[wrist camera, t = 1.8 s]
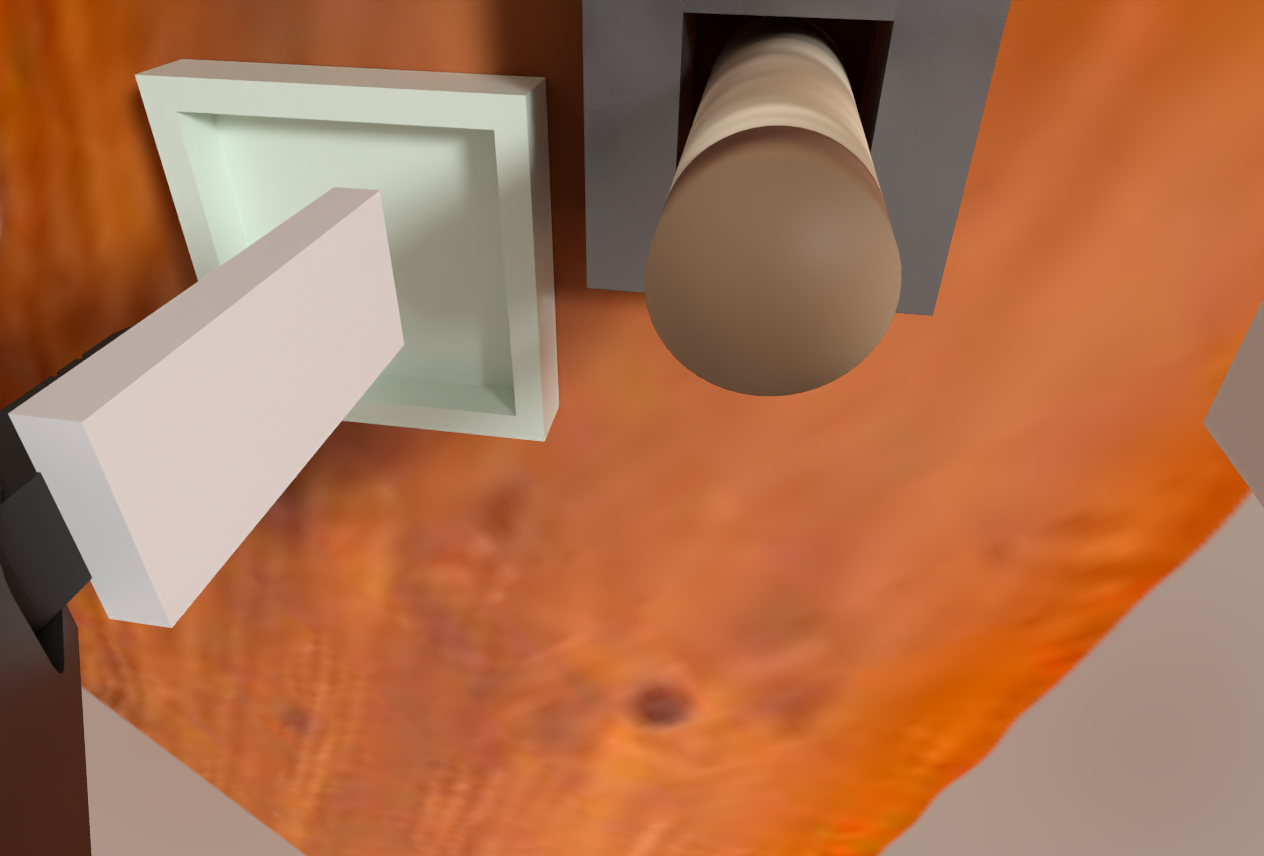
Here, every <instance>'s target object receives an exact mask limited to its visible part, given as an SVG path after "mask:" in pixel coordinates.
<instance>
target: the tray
mask: <svg viewBox="0 0 1264 856" xmlns="http://www.w3.org/2000/svg"><path fill="white" fill-rule="evenodd" d="M135 77H136V80H137V84H138V87H139V90H140V93H141V97H142V100H143V103H144V106H145V110H146V113H147V116H148V120H149V123H150V126H151V129H152V133H153V136H154V139H155V142H156V146H157V149H158V152H159V155H160V159H161V162H162V165H163V169H164V172H165V175H166V178H167V182H168V185H169V188H170V191H171V195H172V198H173V201H174V204H175V208H176V211H177V214H178V217H179V221H180V224H181V227H182V231H183V234H184V237H185V240H186V244H187V247H188V250H189V253H190V257H191V260H192V263H193V266H194V270H195V273H196V276H197V279H198V281H200V280H201V279H202V278H204V277H205V276H207V275H208V274H210V273H211V272H213V271H214V270H215V269H217V268H218V267H220V266H221V265H223V264H224V263H225V262H227V261H228V260H230V259H231V258H233V257H234V256H236V255H237V254H238V253H240V252H241V251H243V250H244V249H246V248H247V247H249V246H250V245H251V244H253V243H254V242H256V241H257V240H259V239H260V238H261V237H263V236H264V235H266V234H267V233H269V232H270V231H272V230H273V229H274V228H276V227H277V226H279V225H280V224H282V223H283V222H285V221H286V220H287V219H289V218H290V217H292V216H293V215H295V214H296V213H297V212H299V211H300V210H302V209H303V208H305V207H306V206H308V205H309V204H310V203H312V202H313V201H315V200H316V199H318V198H319V197H321V196H322V195H323V194H325V193H326V192H328V191H329V190H331V189H332V188H333V187H340V188H354V189H368V190H380V194H381V201H382V207H383V213H384V220H385V226H386V232H387V239H388V245H389V251H390V257H391V264H392V270H393V276H394V283H395V289H396V295H397V302H398V308H399V314H400V320H401V327H402V333H403V339H404V346H403V347H402V348H401V349H400V350H399V352H398V353H397V354H396V355H395V357H394V358H393V359H392V360H391V361H390V363H389V364H388V365H387V366H386V368H385V369H384V370H383V371H382V372H381V374H380V375H379V376H378V377H377V379H376V380H375V381H374V382H373V383H372V385H371V386H370V387H369V388H368V389H367V391H366V392H365V393H364V394H363V396H362V397H361V398H360V399H359V400H358V402H357V403H356V404H355V405H354V407H353V408H352V409H351V410H350V411H349V413H348V414H347V415H346V416H345V417H344V419H343V420H342V421H350V422H360V423H370V424H379V425H389V426H399V427H409V428H418V429H428V430H438V431H448V432H457V433H467V434H477V435H487V436H496V437H506V438H516V439H526V440H535V441H545V439H546V437H547V434H548V432H549V429H550V427H551V425H552V422H553V420H554V417H555V415H556V412H557V410H558V408H559V390H558V366H557V342H556V317H555V293H554V268H553V244H552V220H551V195H550V171H549V147H548V122H547V98H546V77H528V76H508V75H488V74H468V73H449V72H429V71H409V70H390V69H370V68H350V67H331V66H311V65H291V64H272V63H252V62H232V61H212V60H193V59H181V60H178V61H175V62H172V63H169V64H166V65H163V66H160V67H157V68H154V69H151V70H147V71H144V72H141V73H138V74H135Z"/></svg>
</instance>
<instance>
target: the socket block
mask: <svg viewBox="0 0 1264 856" xmlns="http://www.w3.org/2000/svg"><path fill="white" fill-rule="evenodd" d="M1010 1H1011V0H582V24H583V84H584V145H585V205H586V265H587V288H594V289H606V290H619V291H631V292H644V293H645V286H644V276H645V265H646V260H647V256H648V252H649V248H650V245H651V243H652V240H653V237H654V234H655V231H656V228H657V225H658V222H659V220H660V217H661V214H662V211H663V208H664V205H665V202H666V199H667V197H668V194H669V191H670V188H671V185H672V182H673V179H674V176H675V174H676V171H677V168H678V165H679V162H680V159H681V156H682V153H683V151H684V148H685V145H686V142H687V139H688V136H689V133H690V118H691V100H692V81H693V63H694V44H695V26H696V13H712V14H737V15H761V16H786V17H810V18H835V19H859V20H875V22H874V28H873V34H872V40H871V46H870V52H869V58H868V64H867V70H866V76H865V82H864V88H863V94H862V100H861V106H860V112H859V117H860V120H861V124H862V127H863V131H864V134H865V138H866V141H867V144H868V148H869V151H870V155H871V158H872V161H873V165H874V168H875V172H876V175H877V179H878V182H879V185H880V189H881V192H882V196H883V199H884V203H885V206H886V209H887V213H888V216H889V220H890V223H891V227H892V230H893V233H894V237H895V240H896V244H897V247H898V251H899V256H900V262H901V289H900V296H899V301H898V304H897V308H896V311H895V313H905V314H918V315H930V316H933V312H934V308H935V304H936V300H937V296H938V292H939V288H940V284H941V279H942V275H943V271H944V267H945V263H946V259H947V255H948V251H949V247H950V243H951V239H952V235H953V231H954V227H955V223H956V219H957V215H958V211H959V207H960V203H961V199H962V195H963V191H964V187H965V183H966V179H967V174H968V170H969V166H970V162H971V158H972V154H973V150H974V146H975V142H976V138H977V134H978V130H979V126H980V122H981V118H982V114H983V110H984V106H985V102H986V98H987V94H988V90H989V86H990V82H991V78H992V73H993V69H994V65H995V61H996V57H997V53H998V49H999V45H1000V41H1001V37H1002V33H1003V29H1004V25H1005V21H1006V17H1007V13H1008V9H1009V5H1010Z"/></svg>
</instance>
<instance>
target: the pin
mask: <svg viewBox="0 0 1264 856" xmlns="http://www.w3.org/2000/svg"><path fill="white" fill-rule="evenodd" d="M644 286H645V298H646V303H647V308H648V311H649V314H650V317H651V320H652V323H653V325H654V327H655V329H656V331H657V333H658V335H659V337H660V338H661V340H662V341H663V343H664V344H665V346H666V347H667V349H668V350H669V351H670V352H671V353H672V354H673V355H674V357H675V358H676V359H677V360H678V361H679V362H681V363H682V364H683V365H684V366H685V367H686V368H687V369H689V370H690V371H692V372H693V373H694V374H696V375H697V376H699V377H700V378H702V379H704V380H706V381H708V382H710V383H712V384H714V385H716V386H719V387H722V388H724V389H727V390H730V391H734V392H738V393H742V394H749V395H755V396H783V395H791V394H796V393H802V392H806V391H809V390H812V389H816V388H819V387H821V386H823V385H826V384H828V383H830V382H832V381H834V380H836V379H838V378H839V377H841V376H843V375H845V374H846V373H848V372H849V371H850V370H852V369H853V368H854V367H856V366H857V365H859V364H860V363H861V362H862V361H863V360H864V359H865V358H866V357H867V356H868V355H869V354H870V353H871V352H872V351H873V349H874V348H875V347H876V346H877V345H878V343H879V342H880V341H881V339H882V337H883V336H884V334H885V333H886V331H887V329H888V328H889V325H890V323H891V321H892V319H893V317H894V314H895V311H896V308H897V304H898V301H899V296H900V289H901V262H900V256H899V251H898V247H897V244H896V240H895V237H894V233H893V230H892V227H891V223H890V220H889V216H888V213H887V209H886V206H885V203H884V199H883V196H882V192H881V189H880V185H879V182H878V179H877V175H876V172H875V168H874V165H873V161H872V158H871V155H870V151H869V148H868V144H867V141H866V138H865V134H864V131H863V127H862V124H861V120H860V117H859V114H858V110H857V107H856V103H855V100H854V96H853V93H852V90H851V86H850V83H849V79H848V76H847V72H846V69H845V66H844V62H843V59H842V56H841V54H840V51H839V49H838V47H837V46H836V44H835V42H834V41H833V39H832V38H831V37H830V36H829V35H828V34H827V33H826V32H825V31H824V30H823V29H822V28H821V27H820V26H818V25H816V24H815V23H813V22H812V21H809V20H807V19H805V18H802V17H786V16H765V17H762V18H759V19H756V20H754V21H752V22H750V23H748V24H746V25H745V26H743V27H742V28H740V29H739V30H738V31H737V32H735V33H734V34H733V35H732V36H731V37H730V38H729V39H728V40H727V42H726V43H725V44H724V46H723V47H722V48H721V50H720V52H719V54H718V55H717V57H716V60H715V62H714V65H713V67H712V70H711V73H710V76H709V79H708V82H707V84H706V87H705V90H704V93H703V96H702V99H701V102H700V105H699V107H698V110H697V113H696V116H695V119H694V122H693V125H692V128H691V130H690V133H689V136H688V139H687V142H686V145H685V148H684V151H683V153H682V156H681V159H680V162H679V165H678V168H677V171H676V174H675V176H674V179H673V182H672V185H671V188H670V191H669V194H668V197H667V199H666V202H665V205H664V208H663V211H662V214H661V217H660V220H659V222H658V225H657V228H656V231H655V234H654V237H653V240H652V243H651V245H650V248H649V252H648V256H647V260H646V265H645V276H644Z"/></svg>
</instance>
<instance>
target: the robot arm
mask: <svg viewBox="0 0 1264 856" xmlns="http://www.w3.org/2000/svg"><path fill="white" fill-rule="evenodd" d="M403 346H404V339H403V333H402V327H401V320H400V314H399V308H398V302H397V295H396V289H395V283H394V276H393V270H392V264H391V257H390V251H389V245H388V239H387V232H386V226H385V220H384V213H383V207H382V201H381V194H380V190H368V189H354V188H340V187H333V188H332V189H331V190H329V191H328V192H326V193H325V194H323V195H322V196H321V197H319V198H318V199H316V200H315V201H313V202H312V203H310V204H309V205H308V206H306V207H305V208H303V209H302V210H300V211H299V212H297V213H296V214H295V215H293V216H292V217H290V218H289V219H287V220H286V221H285V222H283V223H282V224H280V225H279V226H277V227H276V228H274V229H273V230H272V231H270V232H269V233H267V234H266V235H264V236H263V237H261V238H260V239H259V240H257V241H256V242H254V243H253V244H251V245H250V246H249V247H247V248H246V249H244V250H243V251H241V252H240V253H238V254H237V255H236V256H234V257H233V258H231V259H230V260H228V261H227V262H225V263H224V264H223V265H221V266H220V267H218V268H217V269H215V270H214V271H213V272H211V273H210V274H208V275H207V276H205V277H204V278H202V279H201V280H200V281H198V282H197V283H195V284H194V285H192V286H191V287H190V288H188V289H187V290H185V291H184V292H182V293H181V294H179V295H178V296H177V297H175V298H174V299H172V300H171V301H169V302H168V303H166V304H165V305H164V306H162V307H161V308H159V309H158V310H156V311H155V312H154V313H152V314H151V315H149V316H148V317H146V318H145V319H143V320H142V321H141V322H139V323H138V324H136V325H133V326H131V327H128V328H126V329H123V330H121V331H119V332H116V333H114V334H112V335H110V336H109V337H107V338H106V339H105V340H103V341H102V342H100V343H99V344H97V345H96V346H94V347H93V348H91V349H90V350H88V351H87V352H86V353H84V354H83V355H82V356H83V357H82V359H75V360H74V361H72V362H71V363H69V364H68V365H67V366H65V367H64V368H62V369H61V370H59V371H58V372H57V377H52V376H50V377H49V378H48V379H46V380H45V381H43V382H42V383H40V384H39V385H37V386H36V387H34V388H33V389H32V390H30V391H29V392H27V393H26V394H24V395H23V396H21V397H20V398H18V399H17V400H15V401H14V402H13V403H11V404H10V405H8V406H7V407H5V408H4V409H2V410H1V411H0V856H91V843H90V826H89V809H88V793H87V775H86V758H85V742H84V726H83V708H82V692H81V675H80V658H79V642H78V628H77V625H76V623H75V621H74V619H73V617H72V615H71V613H70V611H69V609H68V607H67V605H66V604H67V603H68V602H69V601H70V600H71V599H72V598H73V597H74V596H75V595H76V594H77V593H78V592H79V591H80V590H81V589H82V588H83V587H84V586H85V585H86V584H87V583H88V582H89V581H91V583H92V585H93V587H94V589H95V591H96V593H97V595H98V597H99V599H100V601H101V603H102V605H103V607H104V609H105V611H106V613H107V615H108V617H109V619H115V620H121V621H128V622H135V623H142V624H148V625H155V626H162V627H168V628H172V627H173V626H174V625H175V623H176V622H177V621H178V620H179V618H180V617H181V616H182V615H183V614H184V612H185V611H186V610H187V609H188V608H189V606H190V605H191V604H192V603H193V601H194V600H195V599H196V598H197V597H198V595H199V594H200V593H201V592H202V590H203V589H204V588H205V587H206V586H207V584H208V583H209V582H210V581H211V580H212V578H213V577H214V576H215V575H216V573H217V572H218V571H219V570H220V569H221V567H222V566H223V565H224V564H225V562H226V561H227V560H228V559H229V558H230V556H231V555H232V554H233V553H234V551H235V550H236V549H237V548H238V547H239V545H240V544H241V543H242V542H243V541H244V539H245V538H246V537H247V536H248V534H249V533H250V532H251V531H252V530H253V528H254V527H255V526H256V525H257V523H258V522H259V521H260V520H261V519H262V517H263V516H264V515H265V514H266V513H267V511H268V510H269V509H270V508H271V506H272V505H273V504H274V503H275V502H276V500H277V499H278V498H279V497H280V495H281V494H282V493H283V492H284V491H285V489H286V488H287V487H288V486H289V484H290V483H291V482H292V481H293V480H294V478H295V477H296V476H297V475H298V474H299V472H300V471H301V470H302V469H303V467H304V466H305V465H306V464H307V463H308V461H309V460H310V459H311V458H312V456H313V455H314V454H315V453H316V452H317V450H318V449H319V448H320V447H321V446H322V444H323V443H324V442H325V441H326V439H327V438H328V437H329V436H330V435H331V433H332V432H333V431H334V430H335V428H336V427H337V426H338V425H339V424H340V422H341V421H342V420H343V419H344V417H345V416H346V415H347V414H348V413H349V411H350V410H351V409H352V408H353V407H354V405H355V404H356V403H357V402H358V400H359V399H360V398H361V397H362V396H363V394H364V393H365V392H366V391H367V389H368V388H369V387H370V386H371V385H372V383H373V382H374V381H375V380H376V379H377V377H378V376H379V375H380V374H381V372H382V371H383V370H384V369H385V368H386V366H387V365H388V364H389V363H390V361H391V360H392V359H393V358H394V357H395V355H396V354H397V353H398V352H399V350H400V349H401V348H402V347H403ZM1203 424H1204V425H1205V427H1206V428H1207V430H1208V431H1209V432H1210V434H1211V435H1212V437H1213V438H1214V439H1215V441H1216V442H1217V443H1218V445H1219V446H1220V448H1221V449H1222V450H1223V452H1224V453H1225V454H1226V456H1227V457H1228V459H1229V460H1230V461H1231V463H1232V464H1233V466H1234V467H1235V468H1236V470H1237V471H1238V472H1239V474H1240V475H1241V477H1242V478H1243V479H1244V481H1245V482H1246V484H1247V485H1248V486H1249V488H1250V489H1251V490H1252V492H1253V493H1254V495H1255V496H1256V497H1257V499H1258V500H1259V501H1260V503H1261V504H1262V506H1263V507H1264V300H1263V302H1262V304H1261V306H1260V308H1259V310H1258V312H1257V314H1256V316H1255V318H1254V320H1253V322H1252V324H1251V326H1250V328H1249V330H1248V332H1247V334H1246V336H1245V338H1244V340H1243V342H1242V344H1241V346H1240V348H1239V350H1238V352H1237V354H1236V356H1235V358H1234V361H1233V363H1232V365H1231V367H1230V369H1229V371H1228V373H1227V375H1226V377H1225V379H1224V381H1223V383H1222V385H1221V387H1220V389H1219V391H1218V393H1217V395H1216V397H1215V399H1214V401H1213V403H1212V405H1211V407H1210V409H1209V411H1208V413H1207V415H1206V417H1205V419H1204V421H1203Z"/></svg>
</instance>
